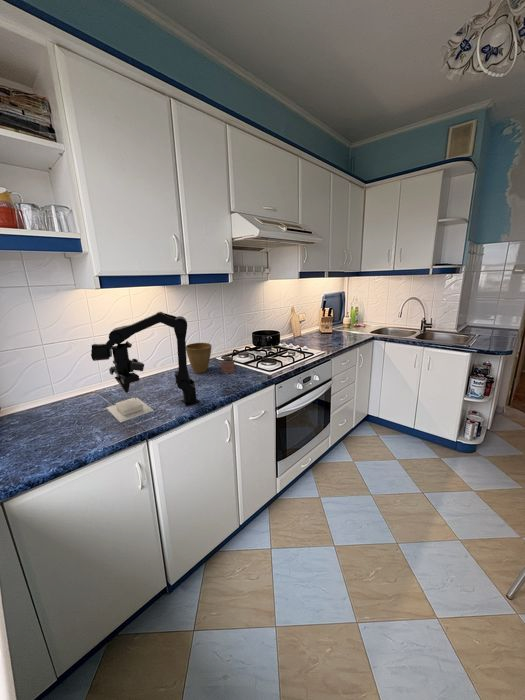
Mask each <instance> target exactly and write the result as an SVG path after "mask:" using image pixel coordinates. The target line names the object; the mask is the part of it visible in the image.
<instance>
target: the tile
mask: <svg viewBox="0 0 525 700" xmlns="http://www.w3.org/2000/svg"><path fill="white" fill-rule="evenodd" d="M114 405H116V408H117V409H118V410H119V411H120V412H121V413H122V414H123V415H124V416H126V415H129V414H132V413H134V412H137V411H140V410H143V405H142V404H141V403H140V402H139V401H137V400H136V399H135V397H131V398H128V399H126V400H125V399H124V400H121V401H119V402H116V403H115V404H114Z"/></svg>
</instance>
